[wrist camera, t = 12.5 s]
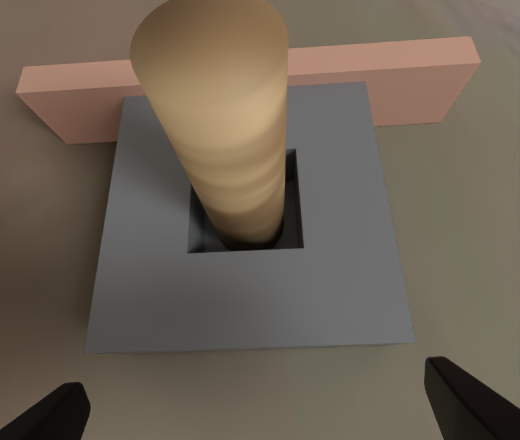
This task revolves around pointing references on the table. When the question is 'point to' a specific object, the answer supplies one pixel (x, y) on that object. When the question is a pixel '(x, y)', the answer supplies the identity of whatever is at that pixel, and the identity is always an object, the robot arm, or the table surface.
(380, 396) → the table surface
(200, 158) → the oak dowel
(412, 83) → the backstop wall
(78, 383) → the robot arm
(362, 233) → the socket block
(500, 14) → the table surface
